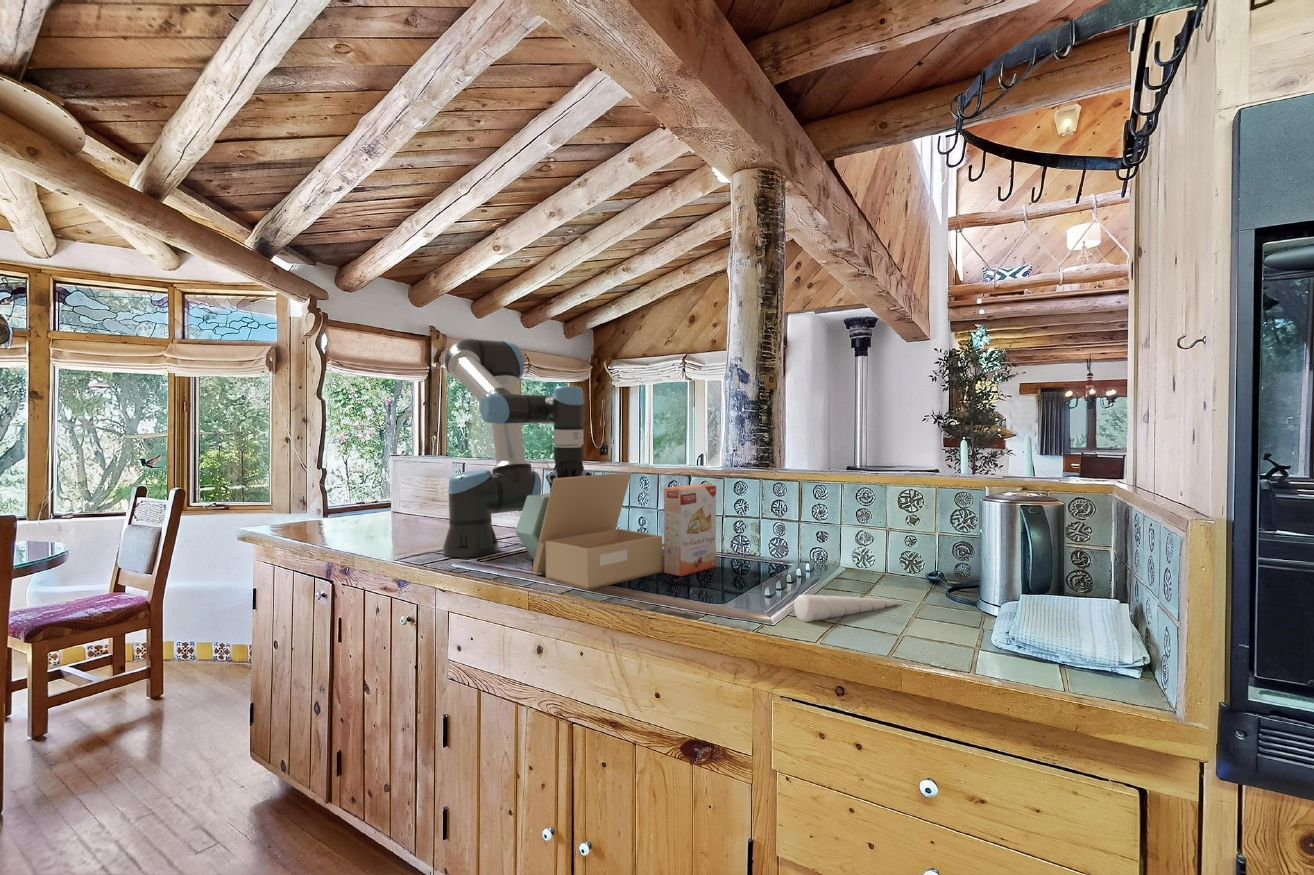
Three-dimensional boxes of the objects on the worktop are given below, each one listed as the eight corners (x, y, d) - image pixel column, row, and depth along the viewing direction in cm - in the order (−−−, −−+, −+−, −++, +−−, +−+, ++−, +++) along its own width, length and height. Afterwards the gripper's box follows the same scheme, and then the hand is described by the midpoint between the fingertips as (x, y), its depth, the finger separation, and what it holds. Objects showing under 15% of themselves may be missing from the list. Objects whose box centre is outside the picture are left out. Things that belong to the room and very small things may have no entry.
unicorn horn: (913, 610, 115) (913, 585, 115) (807, 626, 107) (807, 599, 107) (896, 603, 119) (896, 579, 119) (792, 618, 111) (792, 592, 111)
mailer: (546, 577, 142) (545, 540, 142) (619, 562, 158) (619, 528, 158) (587, 590, 131) (587, 550, 130) (662, 571, 147) (662, 536, 147)
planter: (558, 577, 160) (521, 518, 152) (541, 573, 166) (504, 515, 157) (598, 535, 171) (565, 478, 162) (580, 532, 176) (548, 476, 167)
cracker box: (682, 577, 141) (681, 488, 141) (662, 573, 145) (662, 487, 145) (717, 567, 151) (717, 484, 151) (699, 563, 155) (698, 483, 155)
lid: (536, 573, 144) (531, 569, 146) (611, 558, 161) (606, 554, 162) (558, 482, 137) (553, 478, 139) (634, 475, 154) (629, 472, 155)
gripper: (556, 447, 147) (556, 543, 147) (597, 446, 156) (598, 536, 156) (539, 446, 152) (539, 539, 153) (580, 445, 161) (580, 532, 162)
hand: (569, 537), depth 155 cm, fingers closed
